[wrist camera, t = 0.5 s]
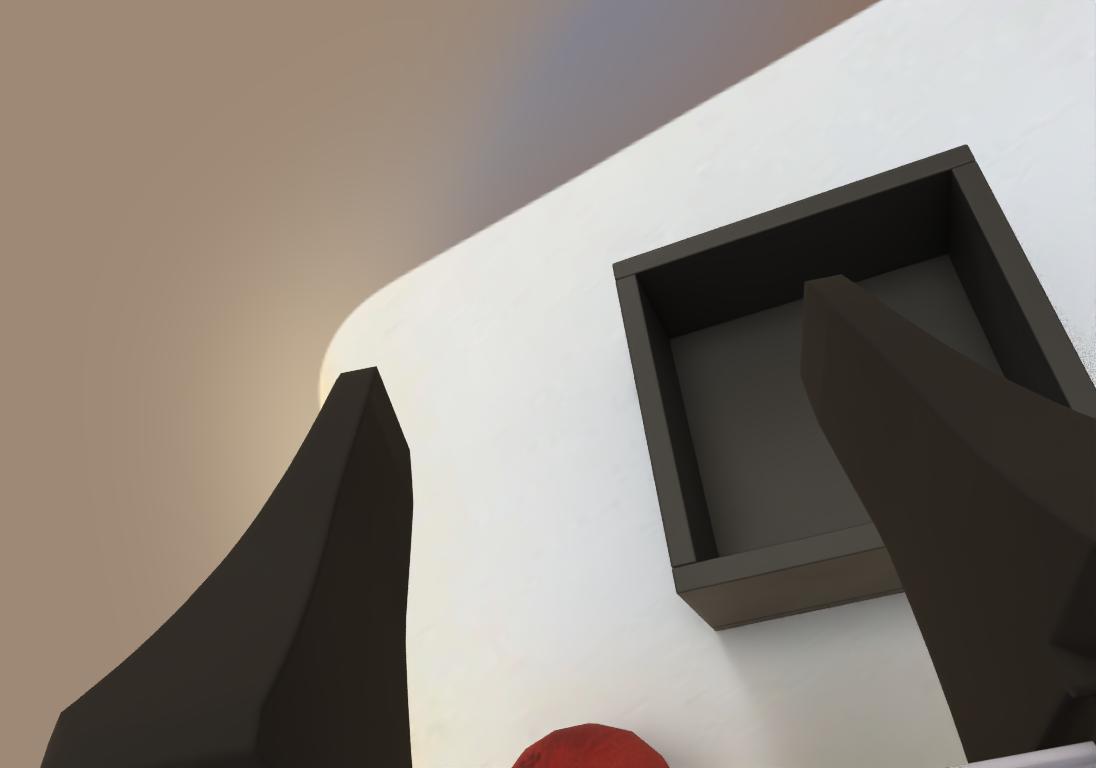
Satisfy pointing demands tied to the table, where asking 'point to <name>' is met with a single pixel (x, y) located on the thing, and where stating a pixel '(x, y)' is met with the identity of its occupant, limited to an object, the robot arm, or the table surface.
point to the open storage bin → (777, 389)
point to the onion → (590, 750)
